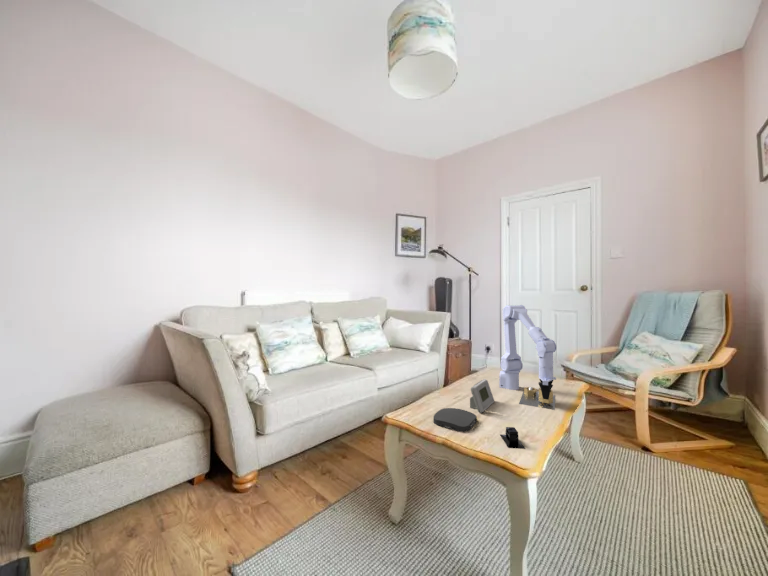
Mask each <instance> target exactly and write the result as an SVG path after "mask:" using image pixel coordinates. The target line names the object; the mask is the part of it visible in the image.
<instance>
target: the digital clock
mask: <svg viewBox="0 0 768 576" xmlns="http://www.w3.org/2000/svg"><path fill="white" fill-rule="evenodd" d="M470 392H471V397H469V408H470V409H474V410H477V412H478V413H481V414H483V412H485V411H486V410H487V409H488V408H489V407H490V406H491V405H493V403H495V398H494V396H493V393H492V390H491V387H490V384H489V381H488V379H486V378H483V379H481V380H479V381H478V382H476V383H475V384H474V385H472V386H471V387H470Z"/></svg>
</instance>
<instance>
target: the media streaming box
mask: <svg viewBox="0 0 768 576" xmlns="http://www.w3.org/2000/svg"><path fill="white" fill-rule="evenodd" d="M477 422H478V420H477V414H475V413H473V412H471V411H468V410H465V409H462V408H455V407H446V408H445V407H444V408H442V409H439V410H438V411H436V412H435V413H434V415H433V424H434V425H436V426H438V427H442V428H446V429H449V430H453V431H457V432H460V433H461V432H468V431H470V430H471V429H472V428H473V427H474V426H475V425H476V424H477Z"/></svg>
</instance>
